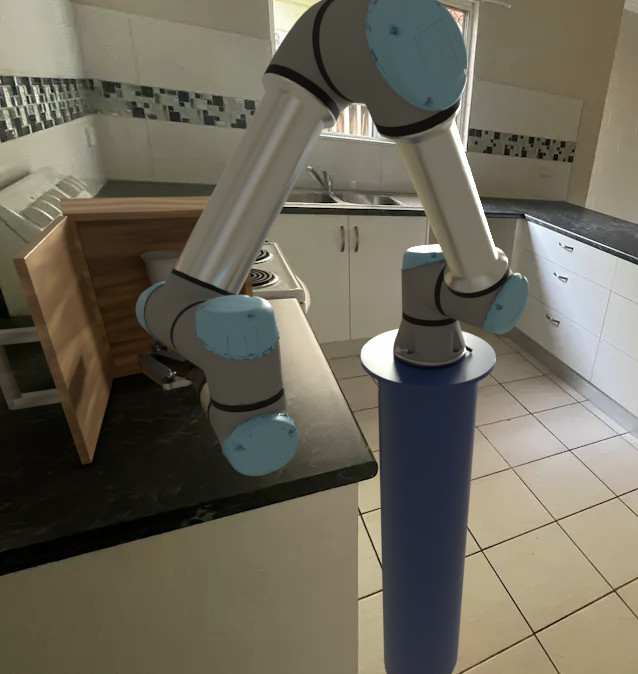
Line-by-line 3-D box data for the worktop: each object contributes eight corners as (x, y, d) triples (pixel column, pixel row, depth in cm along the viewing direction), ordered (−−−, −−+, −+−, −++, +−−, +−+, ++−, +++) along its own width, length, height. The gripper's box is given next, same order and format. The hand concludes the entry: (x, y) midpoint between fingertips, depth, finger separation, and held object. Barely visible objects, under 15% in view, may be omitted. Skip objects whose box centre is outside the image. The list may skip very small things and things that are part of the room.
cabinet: (260, 348, 98) (241, 208, 86) (109, 379, 82) (62, 213, 71) (241, 325, 107) (221, 196, 95) (102, 349, 92) (59, 198, 80)
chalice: (209, 336, 98) (193, 250, 91) (196, 350, 92) (179, 260, 85) (168, 336, 96) (149, 249, 89) (153, 351, 90) (132, 259, 83)
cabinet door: (28, 476, 60) (-58, 261, 49) (66, 386, 79) (9, 216, 67) (91, 462, 63) (24, 258, 52) (113, 379, 82) (67, 215, 71)
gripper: (134, 443, 57) (116, 369, 72) (318, 393, 71) (271, 339, 86) (119, 390, 54) (103, 323, 69) (314, 348, 68) (266, 300, 83)
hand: (196, 332), depth 78 cm, fingers open, 10 cm apart
